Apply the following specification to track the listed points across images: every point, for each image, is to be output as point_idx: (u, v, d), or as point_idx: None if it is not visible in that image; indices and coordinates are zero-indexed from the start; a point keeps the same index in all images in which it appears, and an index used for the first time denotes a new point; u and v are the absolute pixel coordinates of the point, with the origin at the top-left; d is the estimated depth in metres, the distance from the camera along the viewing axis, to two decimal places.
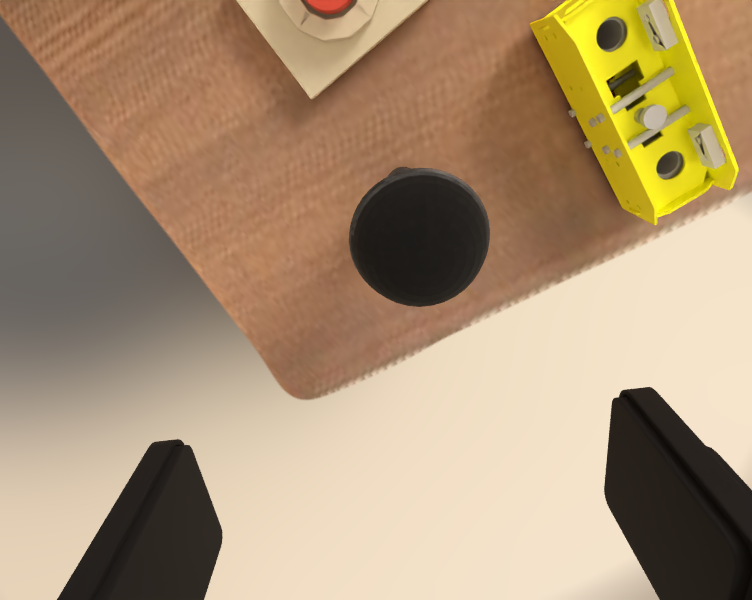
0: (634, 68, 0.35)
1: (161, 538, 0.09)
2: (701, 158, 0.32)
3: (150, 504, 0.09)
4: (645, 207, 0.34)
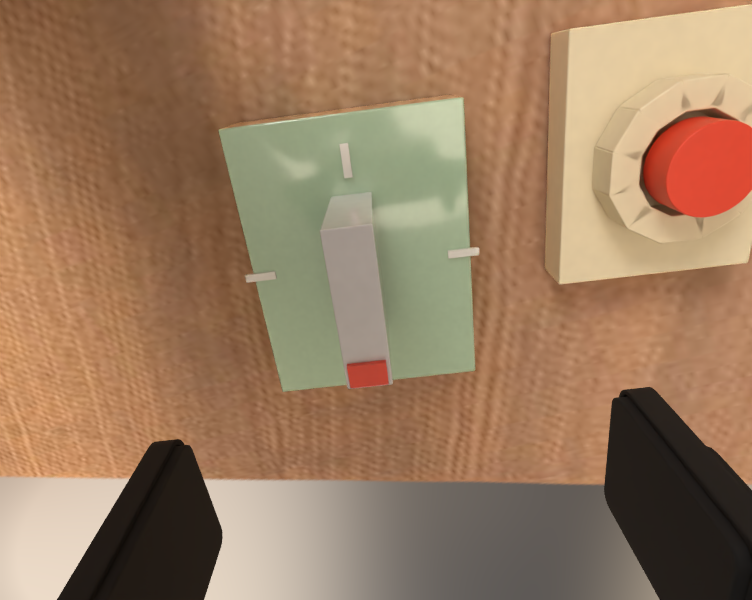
0: None
1: (161, 538, 0.09)
2: None
3: (150, 504, 0.09)
4: None
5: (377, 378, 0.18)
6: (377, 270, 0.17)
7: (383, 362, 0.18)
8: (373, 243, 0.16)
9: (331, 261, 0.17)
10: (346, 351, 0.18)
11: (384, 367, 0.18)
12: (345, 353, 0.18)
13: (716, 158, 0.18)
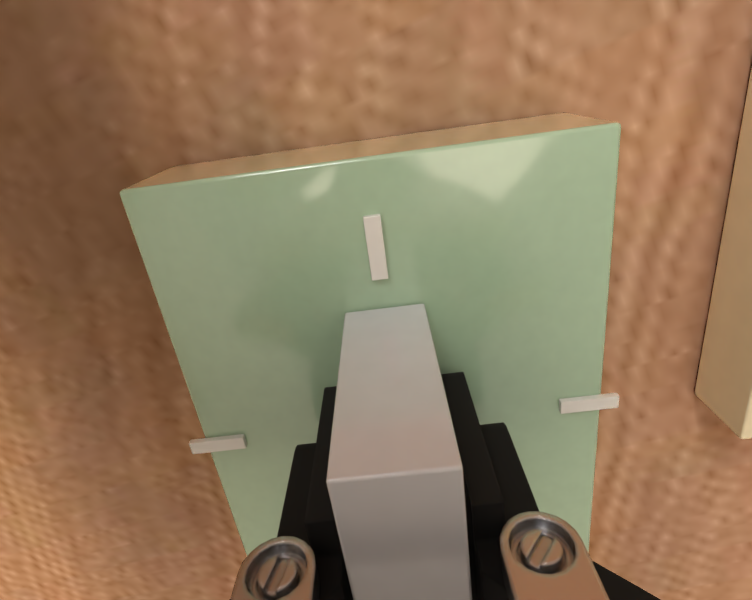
0: None
1: None
2: None
3: None
4: None
5: None
6: (467, 555, 0.07)
7: None
8: (462, 505, 0.07)
9: (355, 541, 0.07)
10: None
11: None
12: None
13: None
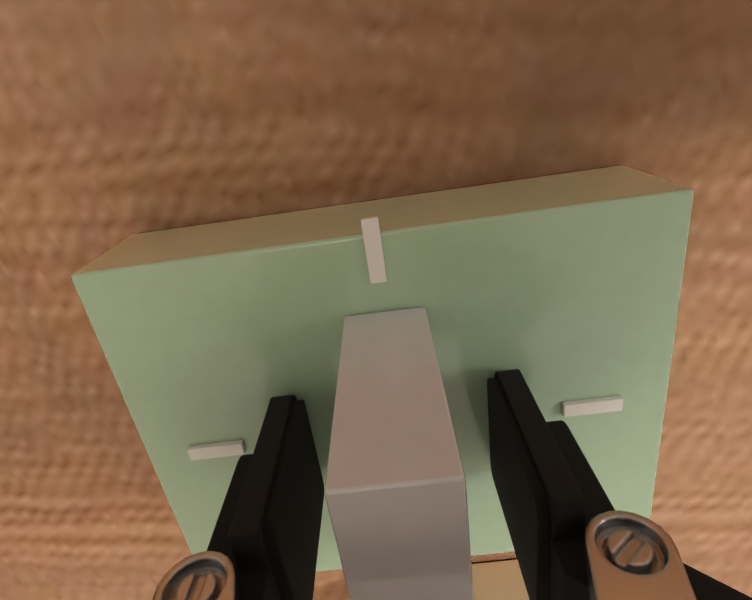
0: None
1: (296, 477, 0.10)
2: None
3: (287, 446, 0.10)
4: None
5: None
6: (469, 566, 0.07)
7: None
8: (464, 516, 0.06)
9: (354, 553, 0.07)
10: None
11: None
12: None
13: None
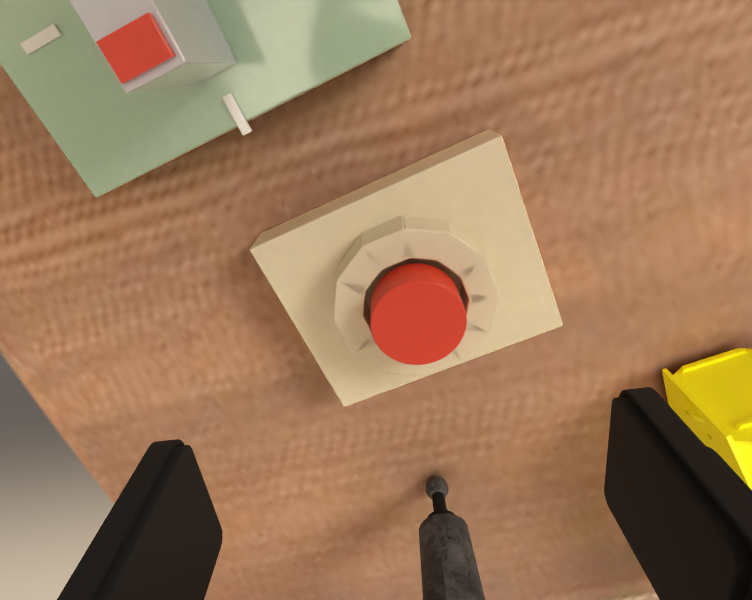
0: None
1: (161, 538, 0.09)
2: None
3: (150, 504, 0.09)
4: None
5: (151, 50, 0.12)
6: None
7: (145, 14, 0.11)
8: None
9: None
10: (88, 17, 0.11)
11: (151, 23, 0.11)
12: (89, 22, 0.11)
13: (429, 319, 0.18)
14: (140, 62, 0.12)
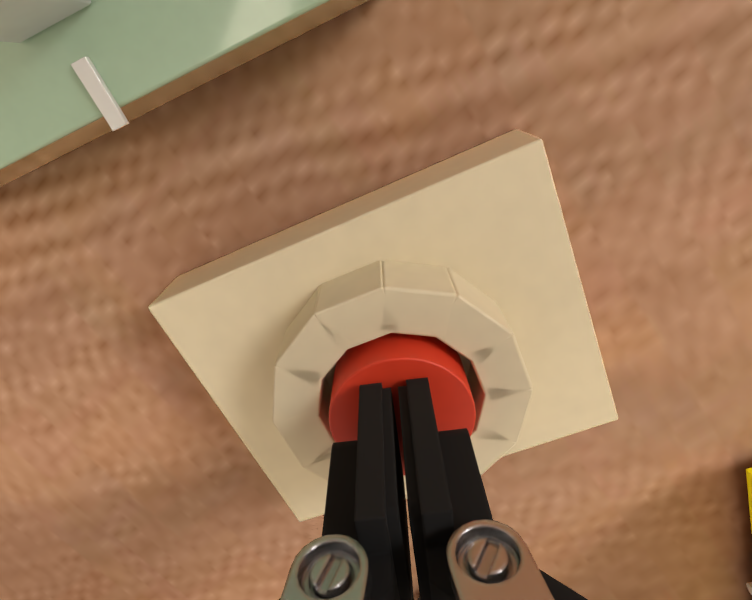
0: None
1: (397, 463, 0.10)
2: None
3: (388, 432, 0.10)
4: None
5: None
6: None
7: None
8: None
9: None
10: None
11: None
12: None
13: None
14: None
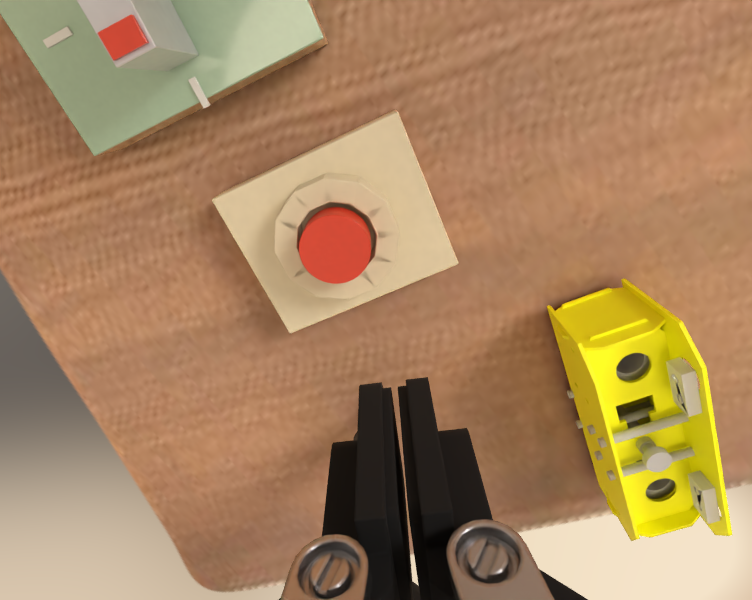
0: None
1: (397, 463, 0.10)
2: (695, 502, 0.29)
3: (388, 432, 0.10)
4: (626, 523, 0.32)
5: (132, 38, 0.18)
6: None
7: (129, 15, 0.18)
8: None
9: None
10: (92, 17, 0.18)
11: (132, 21, 0.18)
12: (93, 21, 0.18)
13: (342, 246, 0.24)
14: (125, 46, 0.18)
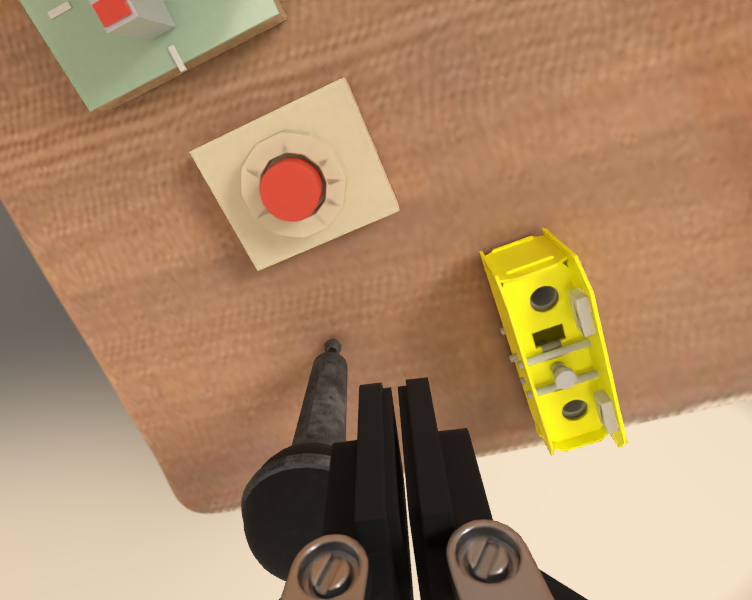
0: None
1: (397, 463, 0.10)
2: (600, 417, 0.35)
3: (388, 432, 0.10)
4: (546, 439, 0.37)
5: (119, 9, 0.23)
6: None
7: None
8: None
9: None
10: None
11: None
12: None
13: (296, 189, 0.29)
14: (114, 15, 0.23)
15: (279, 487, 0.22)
